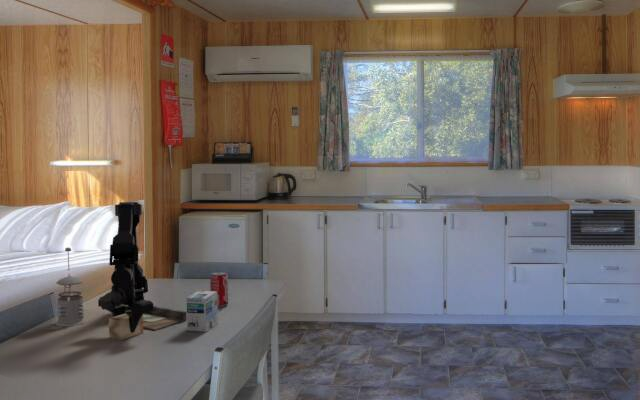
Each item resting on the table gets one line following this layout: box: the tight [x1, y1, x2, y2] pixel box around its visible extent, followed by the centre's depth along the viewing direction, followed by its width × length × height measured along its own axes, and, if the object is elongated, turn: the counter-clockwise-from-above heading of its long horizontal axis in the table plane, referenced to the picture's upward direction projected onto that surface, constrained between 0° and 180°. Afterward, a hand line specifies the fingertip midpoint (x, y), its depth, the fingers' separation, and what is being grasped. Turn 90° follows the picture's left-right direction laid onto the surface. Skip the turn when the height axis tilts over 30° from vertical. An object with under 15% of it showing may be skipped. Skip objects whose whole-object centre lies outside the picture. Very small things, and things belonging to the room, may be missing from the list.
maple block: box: [108, 313, 144, 341], centre depth 209 cm, size 5×9×6 cm, turn 147°
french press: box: [55, 247, 87, 328], centre depth 224 cm, size 10×12×25 cm
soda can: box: [209, 271, 229, 308], centre depth 245 cm, size 6×6×12 cm
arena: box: [125, 305, 187, 332], centre depth 225 cm, size 18×14×3 cm
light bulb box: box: [186, 290, 219, 333], centre depth 217 cm, size 11×7×11 cm, turn 168°
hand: (126, 331), depth 209 cm, fingers closed on maple block, 5 cm apart
